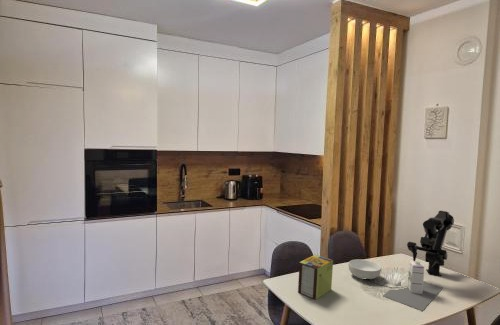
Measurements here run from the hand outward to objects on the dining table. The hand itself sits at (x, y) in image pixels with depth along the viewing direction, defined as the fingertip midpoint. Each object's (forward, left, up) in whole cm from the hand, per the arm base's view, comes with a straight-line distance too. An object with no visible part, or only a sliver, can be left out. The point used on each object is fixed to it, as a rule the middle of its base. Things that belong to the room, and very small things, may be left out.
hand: (422, 264), depth 169 cm
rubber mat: (+8, -5, -12) cm, 15 cm away
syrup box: (+7, -4, -12) cm, 15 cm away
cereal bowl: (-2, -28, -12) cm, 31 cm away
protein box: (+24, -53, -12) cm, 60 cm away
